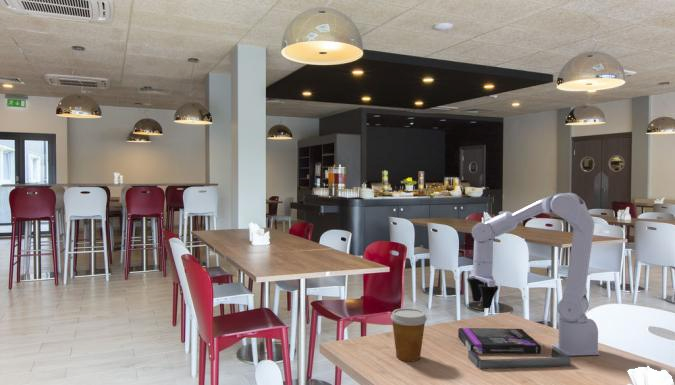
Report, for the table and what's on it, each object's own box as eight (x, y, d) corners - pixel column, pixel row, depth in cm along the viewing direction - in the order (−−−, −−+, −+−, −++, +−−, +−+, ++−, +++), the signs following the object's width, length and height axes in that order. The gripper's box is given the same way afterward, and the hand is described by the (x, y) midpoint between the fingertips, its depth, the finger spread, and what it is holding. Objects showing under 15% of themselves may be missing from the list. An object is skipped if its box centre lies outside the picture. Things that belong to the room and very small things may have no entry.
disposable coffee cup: (427, 352, 131) (428, 309, 131) (424, 365, 122) (425, 319, 122) (393, 349, 134) (393, 306, 133) (387, 361, 125) (387, 316, 124)
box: (470, 357, 131) (541, 356, 130) (470, 344, 131) (541, 343, 130) (458, 339, 145) (522, 338, 144) (457, 327, 145) (522, 327, 144)
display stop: (555, 355, 130) (555, 348, 130) (571, 366, 122) (571, 358, 122) (468, 358, 127) (468, 350, 127) (479, 369, 120) (479, 361, 120)
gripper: (462, 256, 155) (460, 298, 156) (479, 265, 141) (478, 311, 141) (483, 257, 156) (481, 298, 156) (502, 265, 141) (501, 311, 142)
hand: (481, 304), depth 149 cm, fingers open, 7 cm apart
